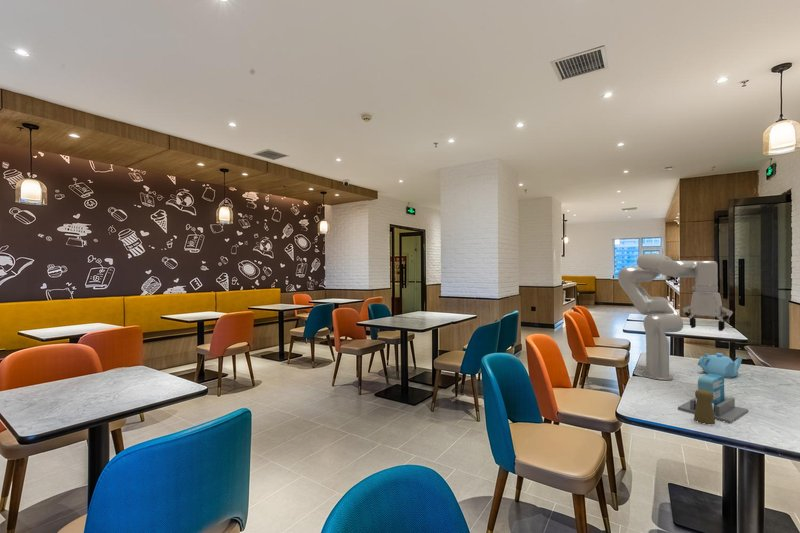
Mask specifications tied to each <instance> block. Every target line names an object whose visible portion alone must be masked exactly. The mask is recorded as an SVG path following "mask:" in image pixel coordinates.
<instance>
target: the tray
mask: <svg viewBox="0 0 800 533" xmlns="http://www.w3.org/2000/svg"><path fill="white" fill-rule="evenodd" d="M729 396H730V395H728V394H724V401H723V402H721V403H720V404H718V405H716V406H715V411H714V403H712V407H713V413H714V419H716V420H715V421H719V420H720V421H719V422H723V421H725V422H724V423H726V422H728V423H727V424H730V423H731V424H732V423H734V422H736V419H737V420H738V419H740V418H742V417H743V416H744V415H746V414H747V413H749V409H748V408H745V407H740V406H736V403H735V399H736V398H735V397H729ZM696 402H697V398H696V397H695V396H694V397H693V398H691V399H690V400H689V401H687V402H684V403H683V404H681V405H679V406H677V410H678V411H682V412H686V413H689V414H692V415H693V414H694V415H695V408H696ZM739 417H740V418H739ZM733 421H734V422H733Z"/></svg>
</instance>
